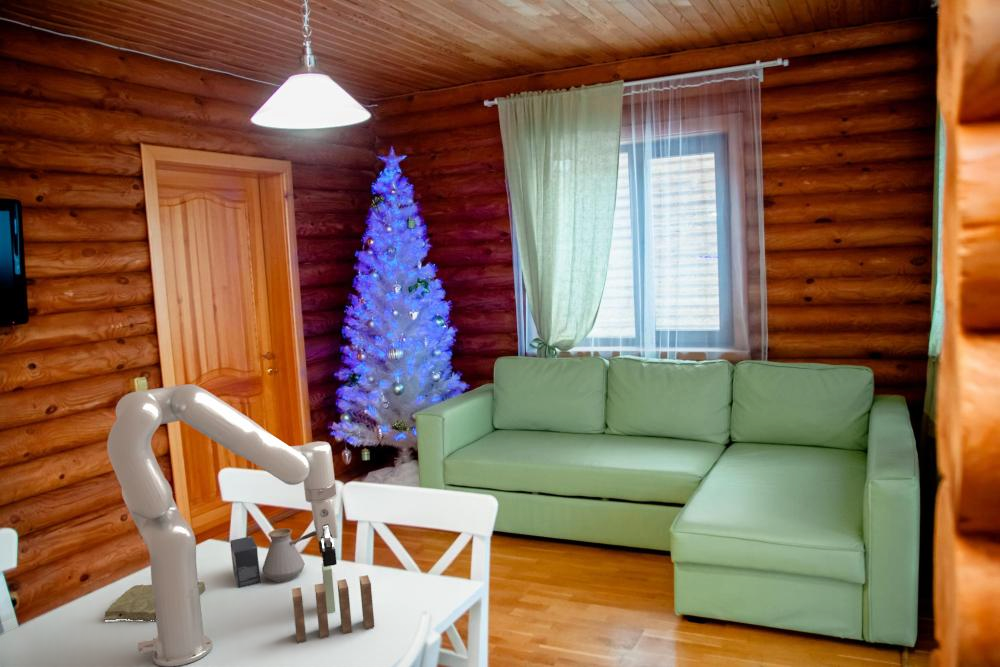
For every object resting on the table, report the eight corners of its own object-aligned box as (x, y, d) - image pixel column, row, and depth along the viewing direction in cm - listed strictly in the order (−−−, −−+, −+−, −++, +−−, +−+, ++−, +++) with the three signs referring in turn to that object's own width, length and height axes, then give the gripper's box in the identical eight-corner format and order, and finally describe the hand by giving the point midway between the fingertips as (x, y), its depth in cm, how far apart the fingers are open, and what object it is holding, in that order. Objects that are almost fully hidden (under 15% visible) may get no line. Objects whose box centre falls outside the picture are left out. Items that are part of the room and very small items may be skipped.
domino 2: (320, 638, 185) (316, 592, 183) (318, 629, 189) (314, 584, 188) (329, 636, 185) (325, 591, 184) (327, 627, 190) (323, 583, 189)
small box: (232, 575, 226) (228, 539, 225) (256, 570, 229) (252, 535, 228) (237, 588, 217) (233, 551, 216) (261, 583, 220) (258, 546, 218)
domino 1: (297, 643, 183) (293, 597, 182) (296, 633, 188) (291, 588, 187) (306, 641, 184) (302, 595, 182) (304, 632, 188) (300, 587, 187)
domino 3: (327, 613, 198) (323, 570, 197) (325, 605, 202) (321, 563, 201) (335, 611, 198) (331, 569, 197) (333, 603, 203) (329, 562, 202)
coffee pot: (254, 583, 219) (249, 530, 218) (278, 567, 230) (273, 516, 229) (322, 589, 213) (317, 534, 211) (344, 572, 223) (339, 520, 222)
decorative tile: (133, 595, 218) (131, 583, 218) (206, 590, 218) (205, 578, 217) (99, 627, 199) (97, 613, 199) (179, 622, 199) (177, 608, 199)
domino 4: (343, 633, 186) (339, 588, 185) (341, 624, 191) (337, 580, 190) (352, 632, 187) (348, 587, 186) (349, 623, 191) (345, 579, 190)
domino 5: (366, 629, 188) (362, 584, 187) (363, 620, 192) (359, 576, 191) (374, 627, 188) (370, 582, 187) (371, 618, 193) (367, 575, 192)
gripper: (339, 499, 190) (347, 567, 192) (332, 480, 207) (339, 544, 209) (307, 504, 188) (315, 574, 190) (302, 485, 205) (310, 549, 206)
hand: (328, 558), depth 199 cm, fingers open, 9 cm apart
